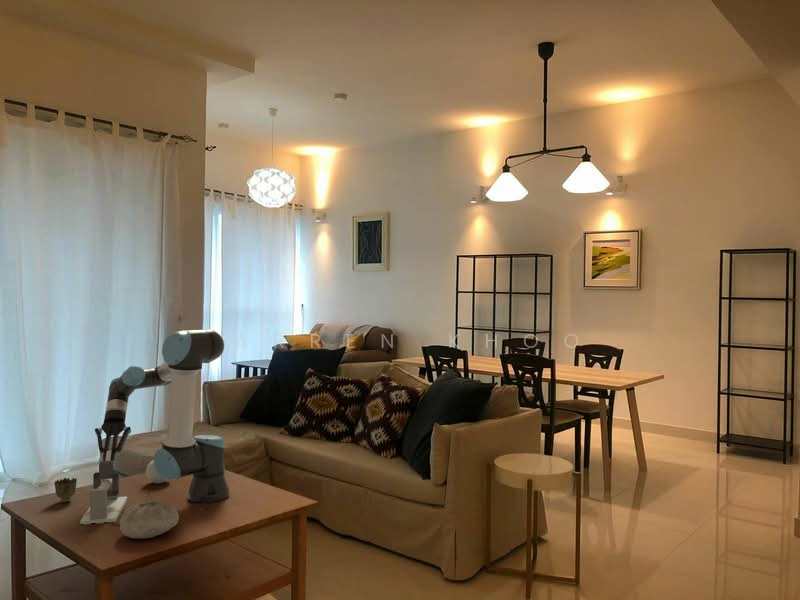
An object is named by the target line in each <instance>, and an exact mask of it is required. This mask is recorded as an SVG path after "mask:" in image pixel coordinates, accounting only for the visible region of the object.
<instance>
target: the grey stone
mask: <svg viewBox="0 0 800 600" xmlns="http://www.w3.org/2000/svg"><path fill="white" fill-rule="evenodd" d="M179 519H180V515H179V513H178V511H177V507H175V506H173V505H172V504H171V503H168V502H165V501H162V500H161V501H160V500H150V501H145V502H137V503H134V504H132V505H130V506H129V507H128V508H127V509H126V510H124V512H123V513H122V515H121V517H120V519H119V529H120V531H121V533H122V535H124V536H126V537H127V538H131V539H137V540H140V539H142V540H143V539H151V538H152V539H153V538H155V537H156V536H160V535H162V534H164V533H166V532H168V531H169V530H171V529H172V528H173V527H175V526H177V524H178V522H179Z"/></svg>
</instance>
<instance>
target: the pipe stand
mask: <svg viewBox="0 0 800 600" xmlns="http://www.w3.org/2000/svg"><path fill="white" fill-rule="evenodd" d="M108 489H112V479H102V481H101V485H100V486H99V487H98V489H93V488H92V489H90V490H89V508H88V509H87V510H86V511H85V513H84V515H83V516H82V518H81V519H80V521H79V525H80V524H83V525H92V524H91V523H96V524H105V523H104V522H106V524H107V522H108V523H116V522H115V521H117V520H118V518H119V516H120V514H121V512H122V510H123V508H124V507H125V504H126V503H127V501H128V496H119V495H118V496H107V491H108Z"/></svg>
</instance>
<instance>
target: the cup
mask: <svg viewBox="0 0 800 600" xmlns="http://www.w3.org/2000/svg"><path fill="white" fill-rule="evenodd" d="M77 481H78V480H77V478H76V477H75V478H74V477H72V479H70V478H69V477H64V478H63V479H62V478H60V479H57V480H55V481H54V482H53V483H54V489H55V495H56V496H57V497H58V498H59V500H60V502H61V503H64V504H65V503H69V502H71V501H72V497H73V496H74V495H75V493H76V490H77Z"/></svg>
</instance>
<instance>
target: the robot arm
mask: <svg viewBox="0 0 800 600" xmlns="http://www.w3.org/2000/svg"><path fill="white" fill-rule="evenodd" d="M161 349H162V350H161V355H162V356H163V361H164V362H163V363H162V364H161V365H160V364H159V366H157V367H151V368H143V367H141V366H138V365H130V366H128V368H126V370H125V371H123V372H122V374H121V375H120V377H116V378H113V379H112V380H111V381H110V384H109V387H108V393H107V394H108V395H107V401H106V407H105V413H104V417H103V423H102V425H101V427H99V428H98V427H96V428H94V432H95V435H96V437H97V445H98V450H99V453H101V454H103V455H102V461H113V462H115V459H116V453H121V452H122V450H123V448H124V446H125V443H126V441H127V439H128V436H129V435H130V434H131V432H132V429H131V428H132V427H131V426H127V425H126V417H127V411H128V404H129V397H130V396H131V395H132V394H133V393H134V392H135V390H138V389H139V390H141V389H147V388H153V387H155V388H156V387H161V386H167V385H170V395H169V397H170V398H169V407H168V409H169V410H168V422H167V434H166V435H167V436H166V437H165V438H163V439H162V443H161V448H159V449H157V450H156V451H155V452H154V455H153V460H154V465H155V468H156V470H157V472H158V474H159V475H160V476H161V477H162V478H163V479H165V480H166V481H171V480H179V479H180V478H184V477H187V476H192V479H191V483H190V485H189V489H188V493H187V500H189V501H191V502H193V503H200V504H201V503H203V504H204V503H213V502H218V501H222V499H223V500H225V499H227V498H228V497H230V487H229V485H228V481H227V479H226V476H225V474H226V473H225V465H226V463H225V456H226V455H225V451H226V450H225V449H226V447H225V440H224V438H223V437H222V436H219V435H211V434H206V435H205V434H199V435H195V436H193V428H194V427H193V426H194V415H195V405H196V393H197V392H196V391H197V379H198V373H199V372H200V371H201V370H202V369H203V364H209V363H212V362H214V361H215V360H217V359H218V358H220V357H221V356H222V354H223V352H224V350H225V341H224V339H223V337H222V336H221V335H220V334H219V333H218V332H217V331H216V330H213V329H189V330H186V329H185V330H179V331H173V332H171V333H169V334H168V335H167V336H166V337H165V339H164V341H163V344H162V348H161ZM103 432H104V433H105V435H106V436H105V439H104V445H103V439H102V434H103ZM121 433H122V435H121V437H120V440H119V435H120V434H121ZM111 439H112V443H111ZM118 440H119V443H118ZM110 444H111V450H110ZM226 497H227V498H226ZM224 498H225V499H224Z"/></svg>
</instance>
